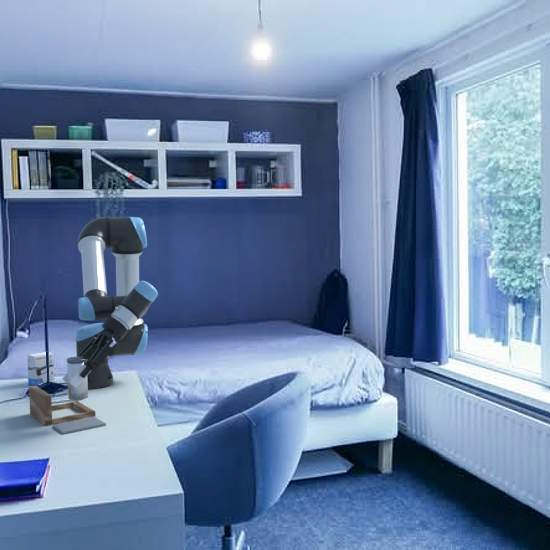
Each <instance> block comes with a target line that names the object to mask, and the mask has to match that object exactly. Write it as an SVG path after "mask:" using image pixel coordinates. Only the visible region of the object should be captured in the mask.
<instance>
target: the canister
mask: <svg viewBox="0 0 550 550" xmlns="http://www.w3.org/2000/svg"><path fill="white" fill-rule="evenodd" d="M84 362H87V357H83V356H79V357H77V356H71V357H67V358H66V363H67V368H66V369H67V372H68V383H67V389H68V390H67V393H68V396H67V397H68V400H70V401H81V400H86V399H88V398H89V389H88V379H87V376H86V377H85V379H84V380H83V381H82V382H81V383H80V385H79V386H78V387H77V388H75V387H74V386H73V385H72V384H70V383H69V382H70V381H71V379H72V378H73V377H74V376H75V375H76V373H77V372H78V371H79V370H80V369H81V367H82V366H83V365H85V364H84ZM85 366H86V365H85Z"/></svg>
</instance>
